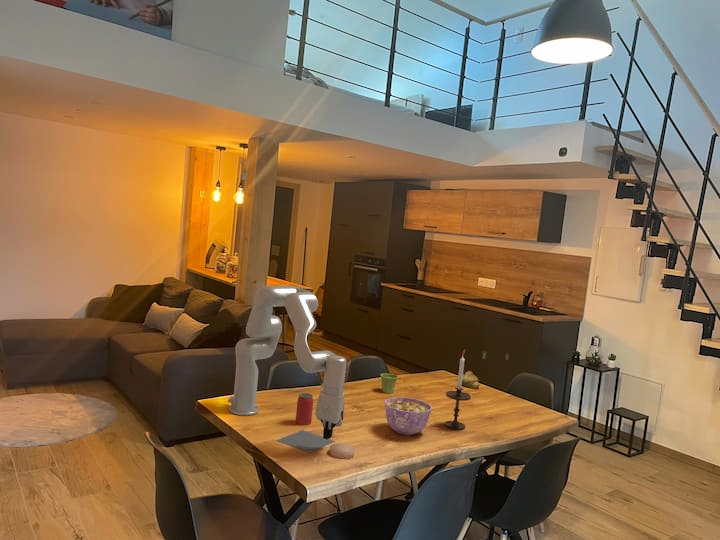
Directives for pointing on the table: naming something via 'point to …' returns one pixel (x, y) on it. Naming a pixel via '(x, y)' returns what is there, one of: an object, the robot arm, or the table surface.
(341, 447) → the pinkish beige domed disc
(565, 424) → the table surface
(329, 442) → the slate mat
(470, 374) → the lumpy yellow-green gourd
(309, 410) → the beer can
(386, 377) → the plant pot
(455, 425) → the candlestick
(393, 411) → the bowl of food
